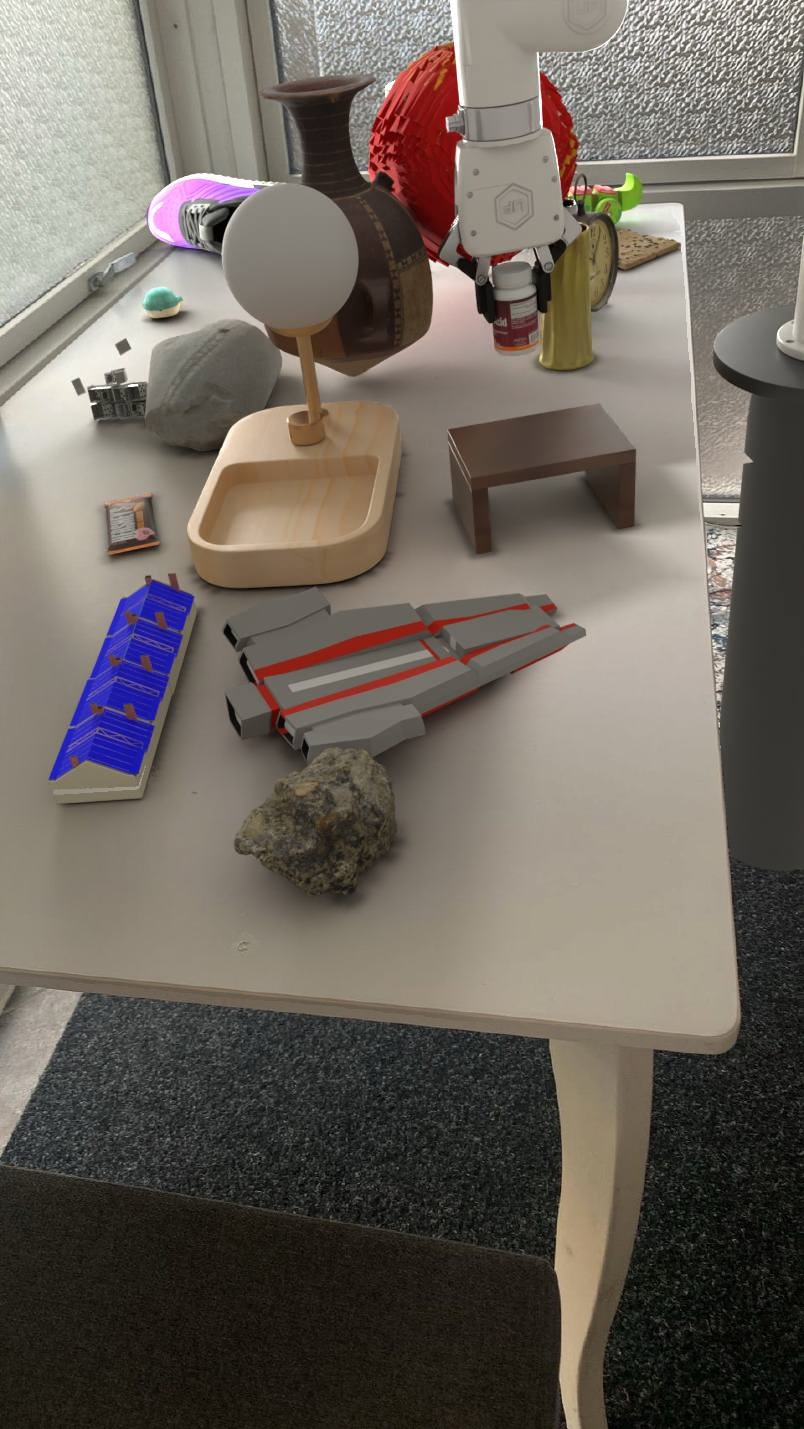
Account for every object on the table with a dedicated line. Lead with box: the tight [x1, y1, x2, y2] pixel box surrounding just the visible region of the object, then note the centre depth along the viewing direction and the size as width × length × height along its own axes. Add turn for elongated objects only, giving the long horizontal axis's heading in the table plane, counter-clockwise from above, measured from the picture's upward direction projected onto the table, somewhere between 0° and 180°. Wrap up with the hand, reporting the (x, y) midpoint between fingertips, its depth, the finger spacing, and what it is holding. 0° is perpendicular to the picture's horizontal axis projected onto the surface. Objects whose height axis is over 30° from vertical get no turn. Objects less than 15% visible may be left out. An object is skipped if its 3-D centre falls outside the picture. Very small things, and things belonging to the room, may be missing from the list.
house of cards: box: [70, 337, 148, 422], centre depth 127 cm, size 9×9×8 cm
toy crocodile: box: [565, 172, 643, 226], centre depth 164 cm, size 20×7×6 cm, turn 98°
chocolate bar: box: [103, 492, 160, 556], centre depth 106 cm, size 11×5×1 cm, turn 14°
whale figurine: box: [141, 286, 185, 319], centre depth 154 cm, size 6×7×4 cm
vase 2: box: [538, 222, 595, 371], centre depth 122 cm, size 6×6×14 cm
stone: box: [144, 318, 283, 452], centre depth 125 cm, size 26×7×15 cm
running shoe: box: [145, 172, 286, 256], centre depth 172 cm, size 11×29×15 cm
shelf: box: [446, 403, 637, 555], centre depth 98 cm, size 14×10×7 cm
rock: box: [233, 747, 398, 897], centre depth 67 cm, size 6×9×10 cm
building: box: [47, 572, 198, 805], centre depth 83 cm, size 23×6×4 cm, turn 179°
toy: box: [367, 41, 580, 268], centre depth 128 cm, size 23×24×30 cm
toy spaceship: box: [221, 586, 587, 767], centre depth 81 cm, size 19×27×5 cm
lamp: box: [186, 182, 403, 589], centre depth 99 cm, size 33×17×25 cm, turn 176°
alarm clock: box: [570, 173, 619, 313], centre depth 132 cm, size 11×5×16 cm, turn 146°
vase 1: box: [257, 73, 434, 378], centre depth 121 cm, size 23×19×30 cm
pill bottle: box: [491, 260, 540, 357], centre depth 116 cm, size 5×5×8 cm
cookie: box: [616, 228, 682, 271], centre depth 155 cm, size 12×12×1 cm
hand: (514, 312), depth 116 cm, fingers closed on pill bottle, 4 cm apart
